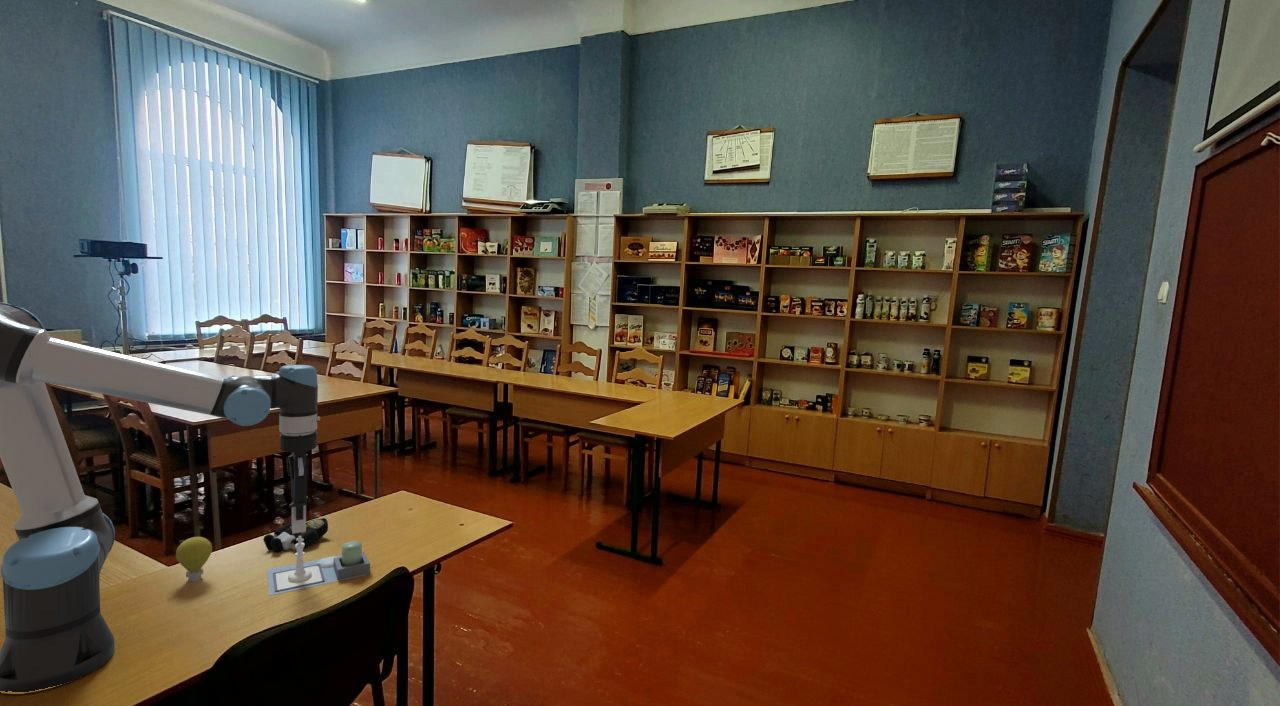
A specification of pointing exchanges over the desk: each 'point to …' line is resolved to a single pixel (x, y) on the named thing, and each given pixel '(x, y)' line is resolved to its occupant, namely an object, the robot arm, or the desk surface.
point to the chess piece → (299, 564)
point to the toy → (296, 535)
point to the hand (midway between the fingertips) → (298, 530)
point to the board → (316, 574)
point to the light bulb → (194, 556)
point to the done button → (351, 553)
